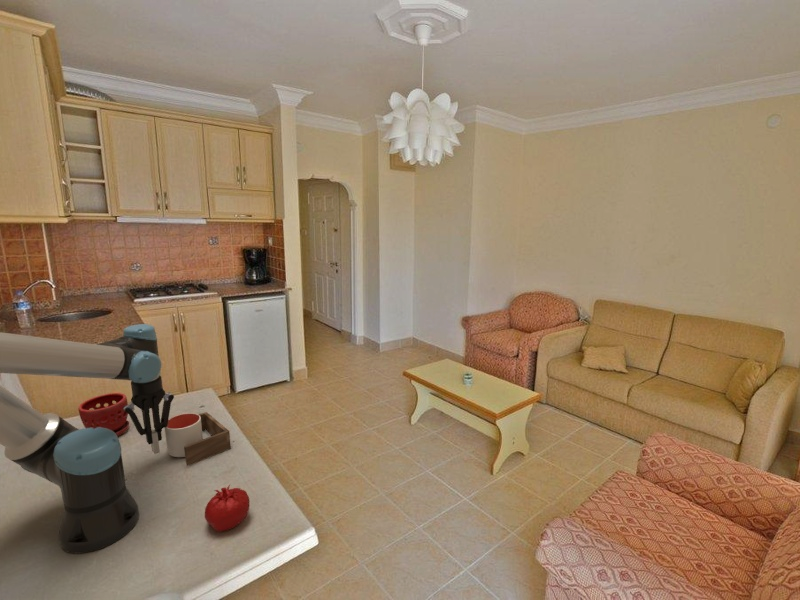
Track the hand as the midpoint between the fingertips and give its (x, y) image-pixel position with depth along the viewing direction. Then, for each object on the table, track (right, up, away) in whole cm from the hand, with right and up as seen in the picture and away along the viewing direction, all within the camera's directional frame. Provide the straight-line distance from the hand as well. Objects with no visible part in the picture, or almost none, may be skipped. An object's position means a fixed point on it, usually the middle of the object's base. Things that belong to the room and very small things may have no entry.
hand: (155, 451), depth 122 cm
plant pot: (-25, 0, +15) cm, 30 cm away
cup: (+6, -2, +6) cm, 9 cm away
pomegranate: (+31, -9, -23) cm, 40 cm away
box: (+9, -1, +9) cm, 13 cm away
